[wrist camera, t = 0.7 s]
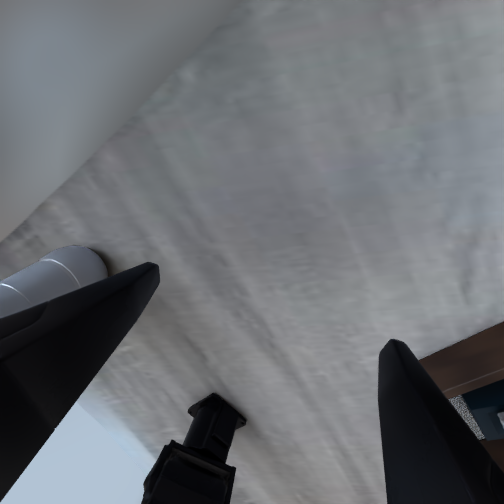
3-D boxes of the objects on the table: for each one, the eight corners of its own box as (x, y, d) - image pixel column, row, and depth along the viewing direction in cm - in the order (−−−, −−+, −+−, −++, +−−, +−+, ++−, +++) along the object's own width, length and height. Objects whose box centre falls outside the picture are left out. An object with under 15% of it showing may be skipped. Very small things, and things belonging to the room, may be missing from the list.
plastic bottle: (98, 234, 29) (-262, 385, 11) (125, 285, 31) (-138, 483, 13) (58, 245, 31) (-303, 389, 13) (86, 293, 33) (-189, 473, 15)
